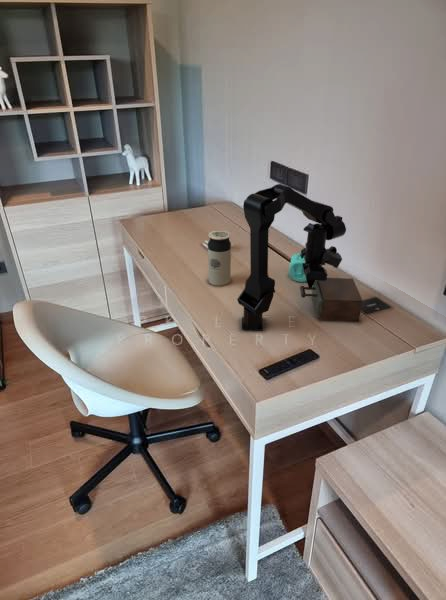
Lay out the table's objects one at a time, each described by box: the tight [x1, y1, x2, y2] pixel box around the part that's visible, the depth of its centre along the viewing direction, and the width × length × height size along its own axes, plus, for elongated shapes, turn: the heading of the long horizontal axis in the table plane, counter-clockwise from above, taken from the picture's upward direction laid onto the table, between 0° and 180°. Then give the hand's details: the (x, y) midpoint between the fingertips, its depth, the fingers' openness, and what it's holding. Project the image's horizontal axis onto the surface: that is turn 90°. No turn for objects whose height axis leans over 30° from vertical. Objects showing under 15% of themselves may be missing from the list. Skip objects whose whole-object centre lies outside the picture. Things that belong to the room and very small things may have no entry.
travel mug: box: [207, 230, 232, 287], centre depth 151 cm, size 8×8×18 cm
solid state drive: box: [361, 297, 391, 315], centre depth 141 cm, size 7×10×1 cm
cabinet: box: [316, 277, 364, 323], centre depth 137 cm, size 12×15×8 cm
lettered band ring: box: [202, 240, 235, 249], centre depth 179 cm, size 18×10×6 cm, turn 27°
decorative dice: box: [288, 252, 307, 283], centre depth 156 cm, size 8×8×8 cm
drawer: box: [299, 280, 323, 318], centre depth 137 cm, size 15×13×6 cm
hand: (310, 287), depth 141 cm, fingers closed
